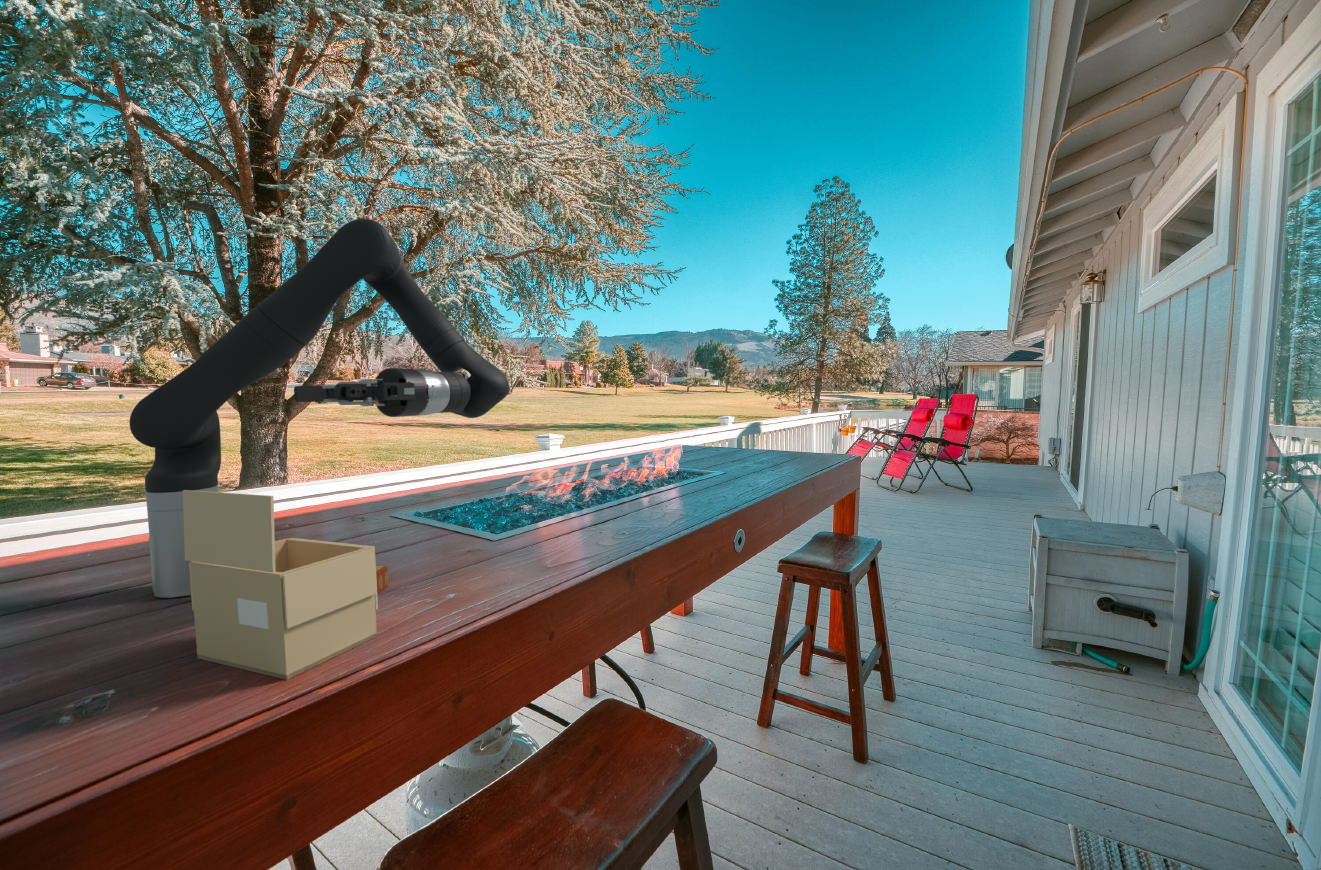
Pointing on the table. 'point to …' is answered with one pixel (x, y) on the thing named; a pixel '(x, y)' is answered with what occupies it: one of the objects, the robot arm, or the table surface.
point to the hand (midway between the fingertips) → (316, 393)
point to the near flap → (229, 529)
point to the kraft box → (286, 607)
